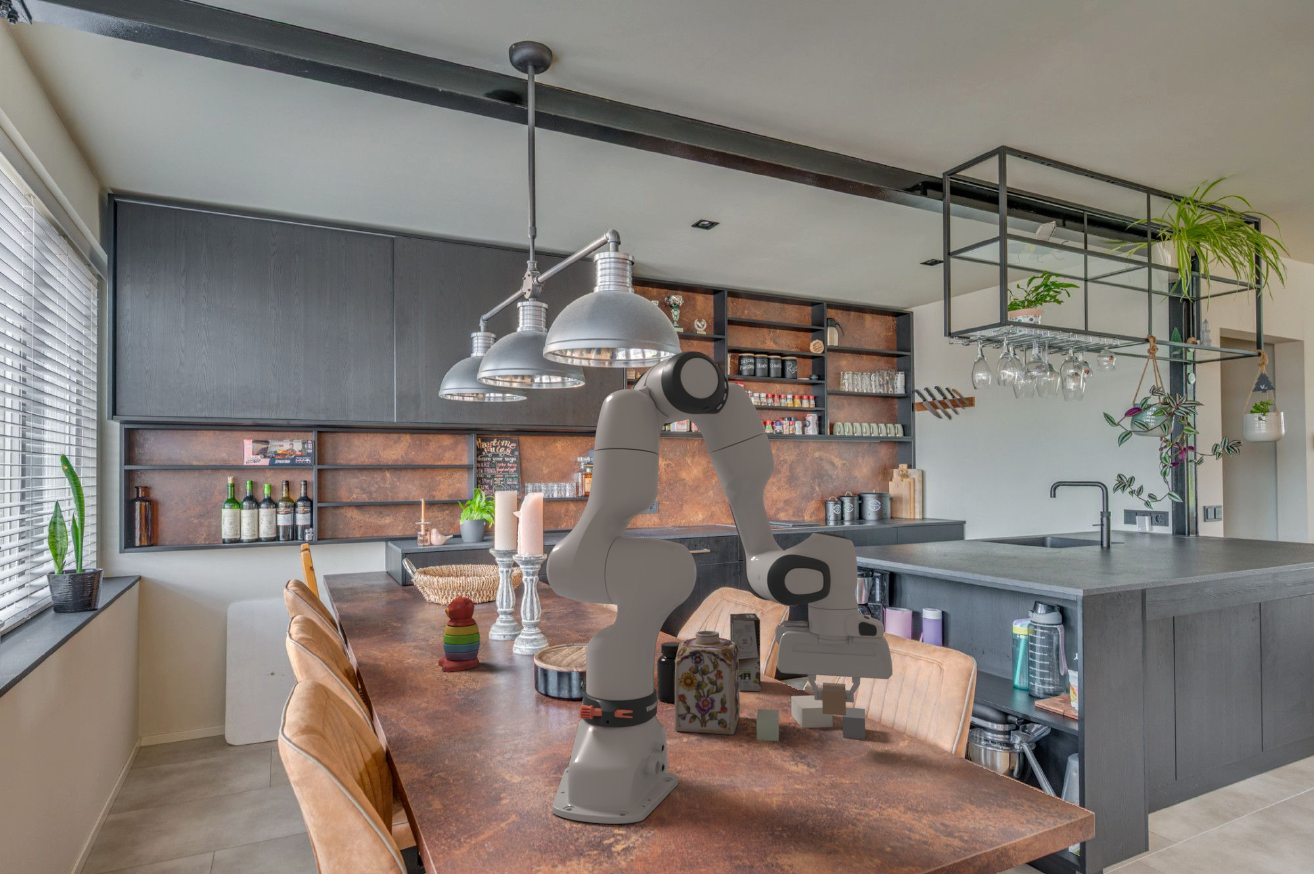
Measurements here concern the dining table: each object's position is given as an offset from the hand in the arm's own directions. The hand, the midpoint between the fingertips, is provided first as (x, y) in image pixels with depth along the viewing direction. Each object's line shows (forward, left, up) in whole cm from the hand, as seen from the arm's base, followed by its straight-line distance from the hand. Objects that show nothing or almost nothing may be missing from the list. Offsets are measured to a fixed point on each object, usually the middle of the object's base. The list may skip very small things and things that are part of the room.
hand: (834, 700), depth 133 cm
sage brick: (+5, +12, -9) cm, 16 cm away
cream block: (+15, +4, -9) cm, 18 cm away
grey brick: (+9, -4, -9) cm, 13 cm away
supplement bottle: (+24, +34, -9) cm, 43 cm away
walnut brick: (0, 0, -2) cm, 2 cm away
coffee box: (+38, +19, -9) cm, 43 cm away
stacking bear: (+42, +94, -9) cm, 104 cm away
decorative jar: (+9, +24, -9) cm, 27 cm away
